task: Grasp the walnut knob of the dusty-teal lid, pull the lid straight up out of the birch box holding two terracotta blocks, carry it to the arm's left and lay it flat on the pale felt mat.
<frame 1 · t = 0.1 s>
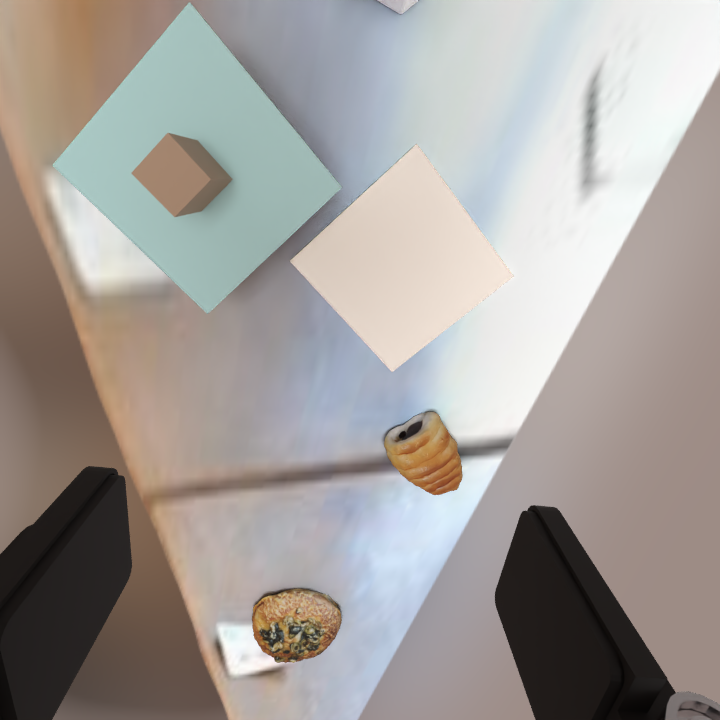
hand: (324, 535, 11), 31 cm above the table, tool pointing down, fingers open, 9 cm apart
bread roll: (297, 613, 56), on the table
mat: (402, 268, 39), on the table
pastry: (424, 444, 47), on the table
lid: (210, 176, 31), point 5 cm above the table, touching box
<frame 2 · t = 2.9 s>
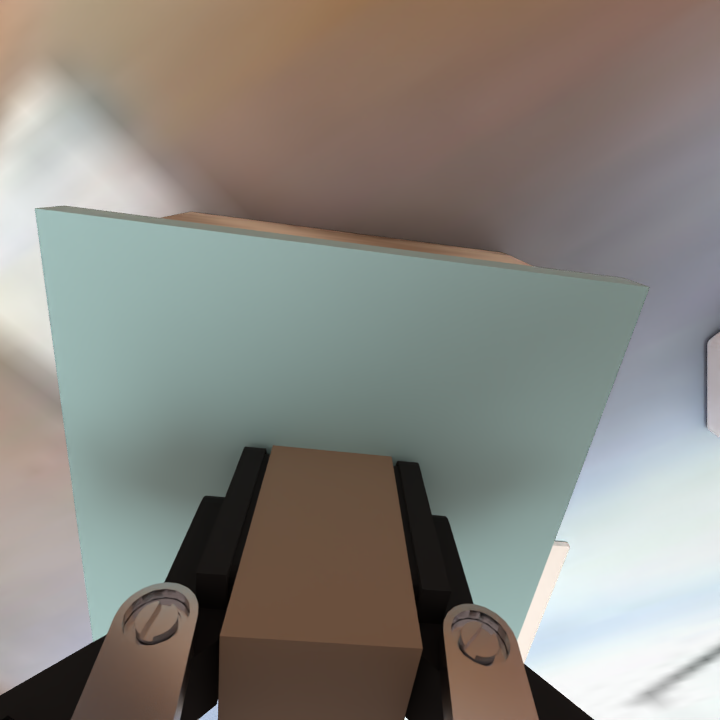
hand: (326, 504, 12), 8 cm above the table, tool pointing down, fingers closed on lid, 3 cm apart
mat: (411, 628, 25), on the table
box: (334, 375, 19), on the table
lid: (330, 446, 14), point 6 cm above the table, touching box, gripper
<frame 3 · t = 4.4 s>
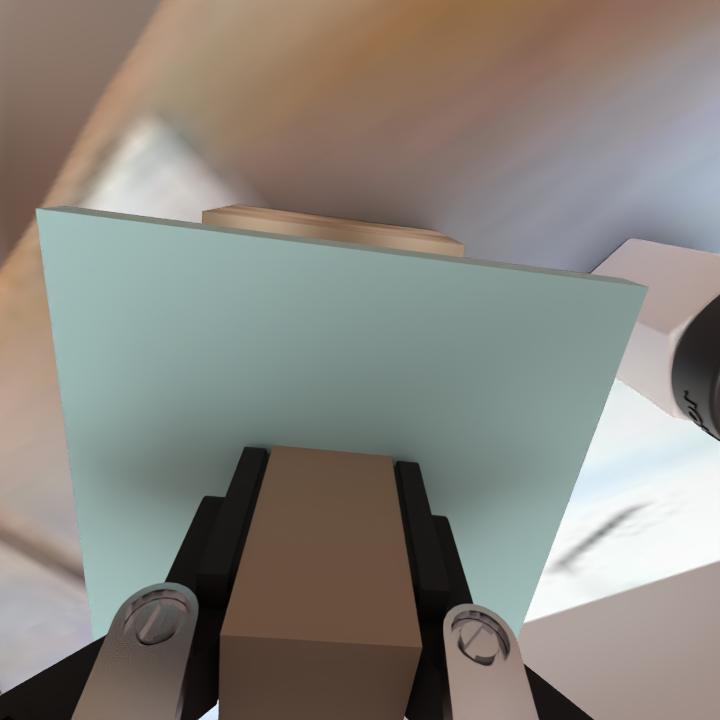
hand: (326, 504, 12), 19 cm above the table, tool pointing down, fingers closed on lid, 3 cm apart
jar: (630, 303, 30), on the table
box: (327, 314, 29), on the table
lid: (330, 446, 14), point 16 cm above the table, touching gripper
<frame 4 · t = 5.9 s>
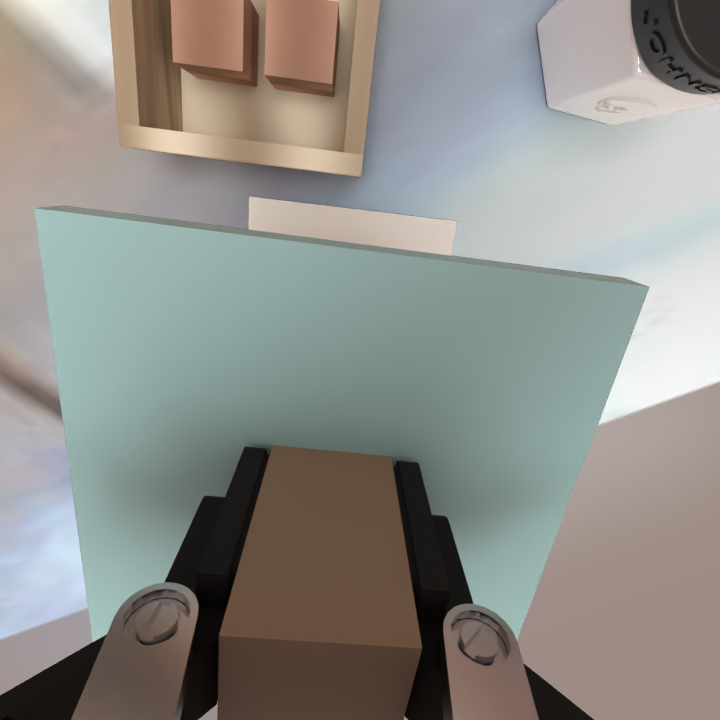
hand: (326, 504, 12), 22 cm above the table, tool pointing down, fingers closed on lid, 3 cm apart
mat: (344, 309, 33), on the table
jar: (603, 46, 27), on the table
box: (269, 57, 27), on the table
lid: (329, 446, 14), point 20 cm above the table, touching gripper
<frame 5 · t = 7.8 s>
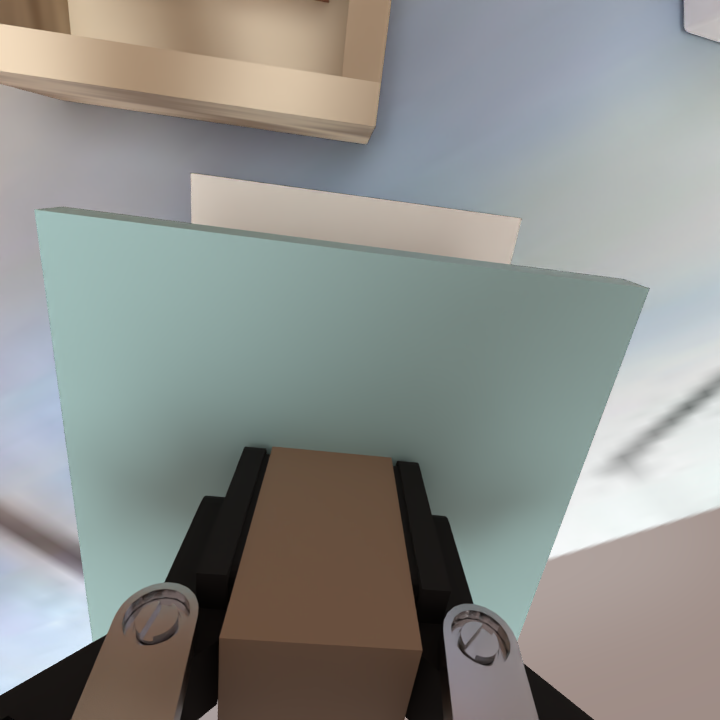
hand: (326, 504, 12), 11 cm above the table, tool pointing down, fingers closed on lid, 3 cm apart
mat: (341, 348, 22), on the table
lid: (329, 447, 14), point 8 cm above the table, touching gripper
when the fingers open (5 cm above the table, at t = 9.1 s): lid drops 2 cm, resting on mat.
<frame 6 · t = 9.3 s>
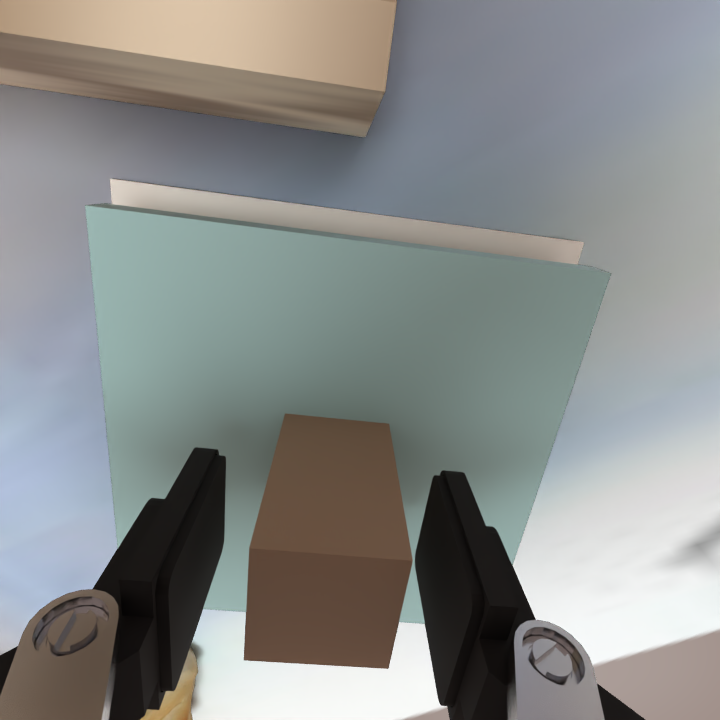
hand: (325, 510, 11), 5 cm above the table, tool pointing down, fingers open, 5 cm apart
mat: (331, 415, 16), on the table
pastry: (137, 677, 22), on the table
lid: (334, 420, 16), resting on mat
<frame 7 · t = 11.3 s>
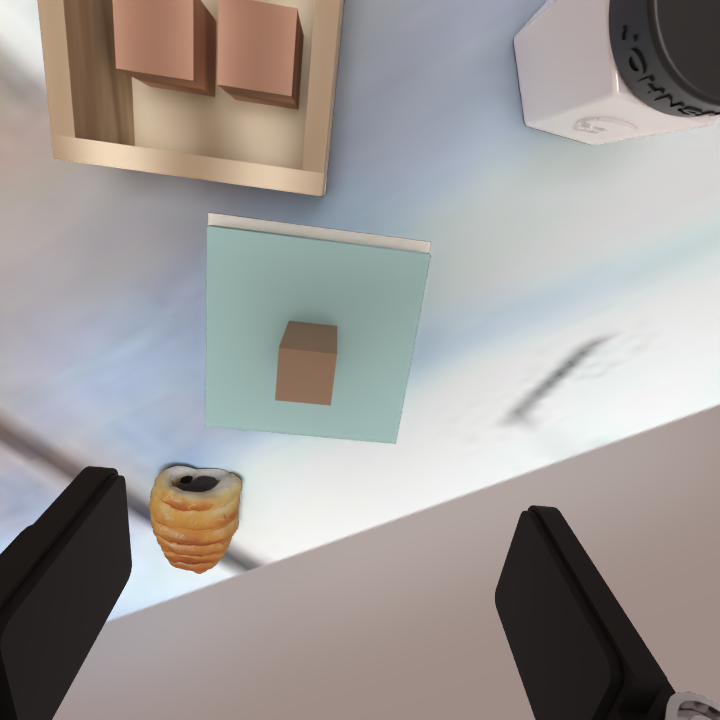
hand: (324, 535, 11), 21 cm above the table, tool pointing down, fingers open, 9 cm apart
mat: (312, 332, 31), on the table
jar: (582, 63, 26), on the table
box: (229, 65, 25), on the table
pastry: (203, 502, 36), on the table
lid: (313, 333, 30), resting on mat
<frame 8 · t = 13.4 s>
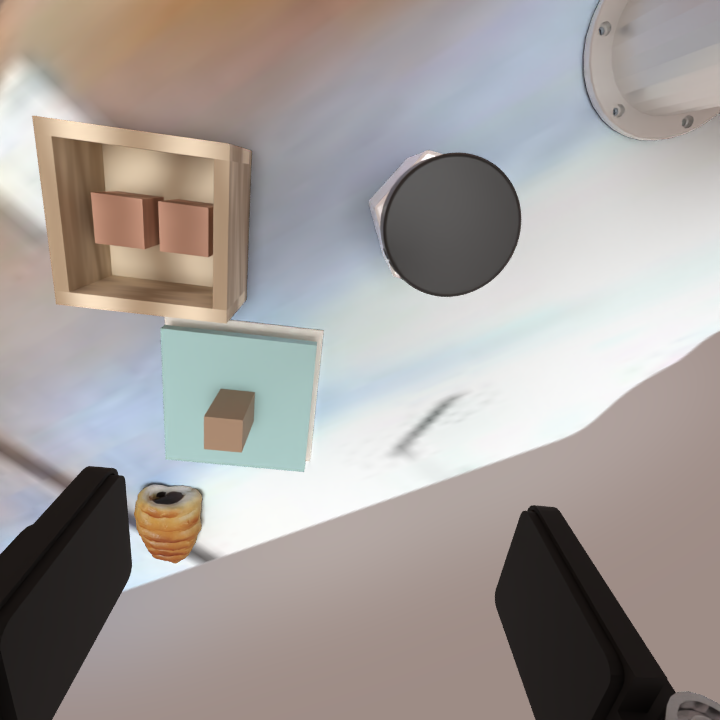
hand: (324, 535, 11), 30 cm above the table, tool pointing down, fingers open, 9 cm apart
mat: (243, 391, 42), on the table
jar: (420, 214, 37), on the table
box: (175, 220, 36), on the table
pastry: (176, 510, 48), on the table
lid: (243, 392, 42), resting on mat
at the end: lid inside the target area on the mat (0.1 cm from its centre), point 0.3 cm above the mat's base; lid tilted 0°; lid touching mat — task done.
